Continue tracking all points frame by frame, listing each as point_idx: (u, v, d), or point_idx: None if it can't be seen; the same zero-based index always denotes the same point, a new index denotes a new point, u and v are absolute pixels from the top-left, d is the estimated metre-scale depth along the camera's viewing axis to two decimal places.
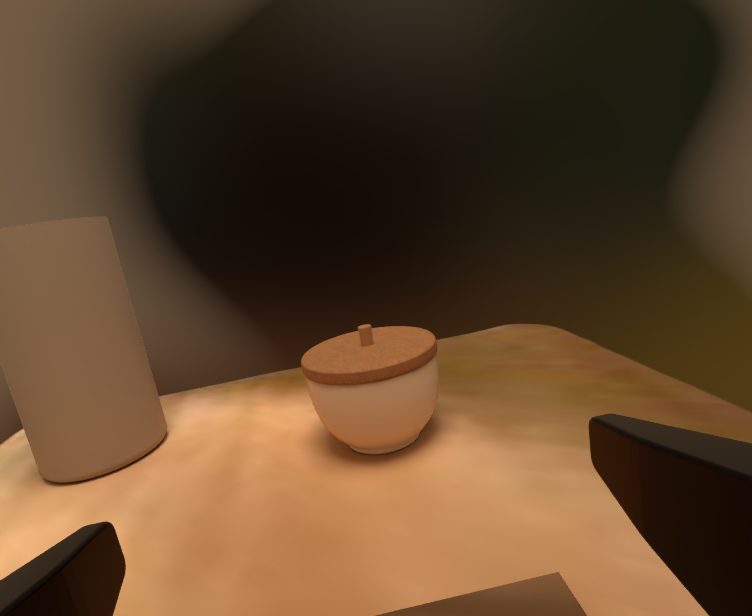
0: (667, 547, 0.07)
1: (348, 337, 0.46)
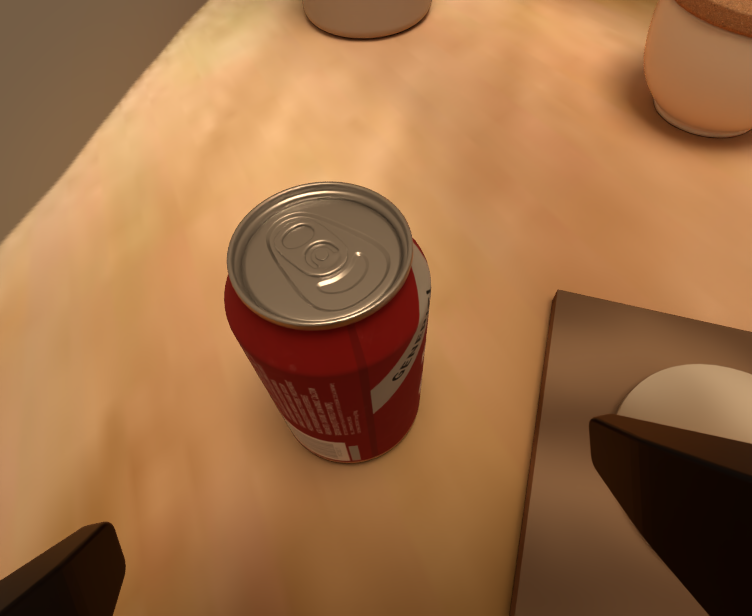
0: (667, 547, 0.07)
1: None
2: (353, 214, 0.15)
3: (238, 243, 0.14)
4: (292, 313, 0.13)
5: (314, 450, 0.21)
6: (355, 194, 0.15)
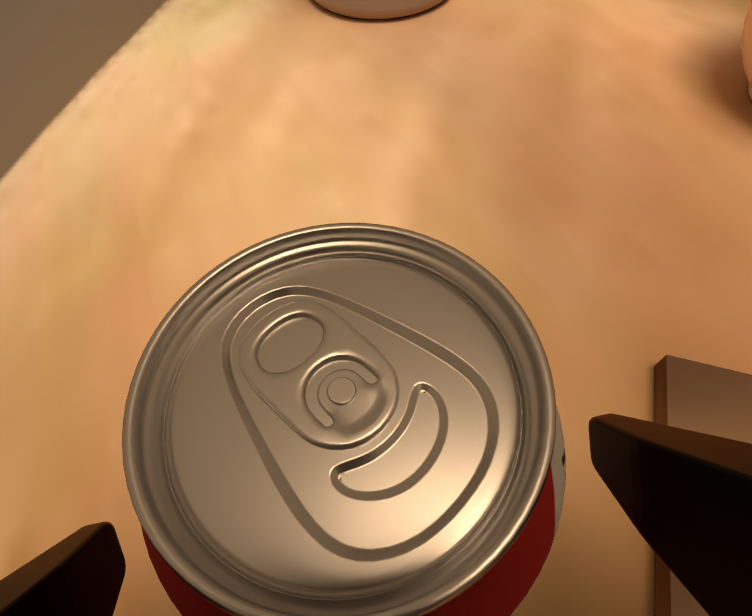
0: (667, 547, 0.07)
1: None
2: (404, 292, 0.07)
3: (160, 361, 0.07)
4: (272, 564, 0.05)
5: None
6: (406, 249, 0.08)
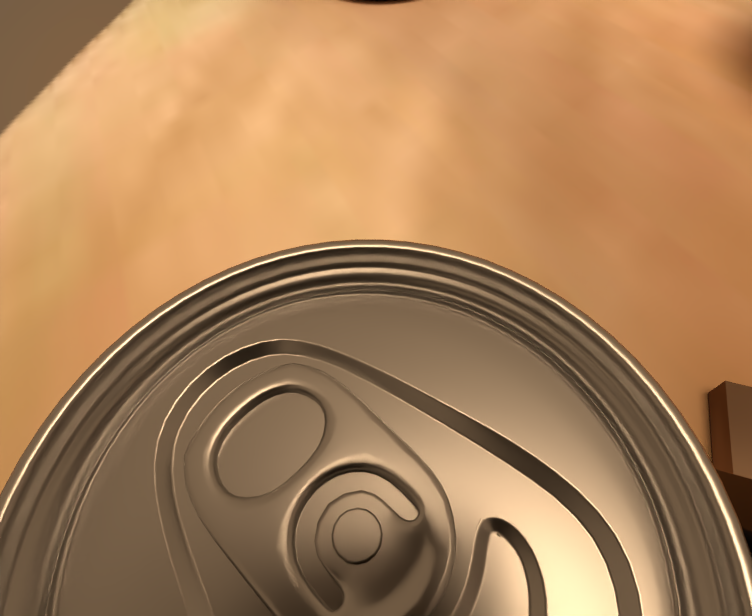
0: None
1: None
2: (454, 353, 0.05)
3: (53, 475, 0.04)
4: None
5: None
6: (453, 279, 0.05)
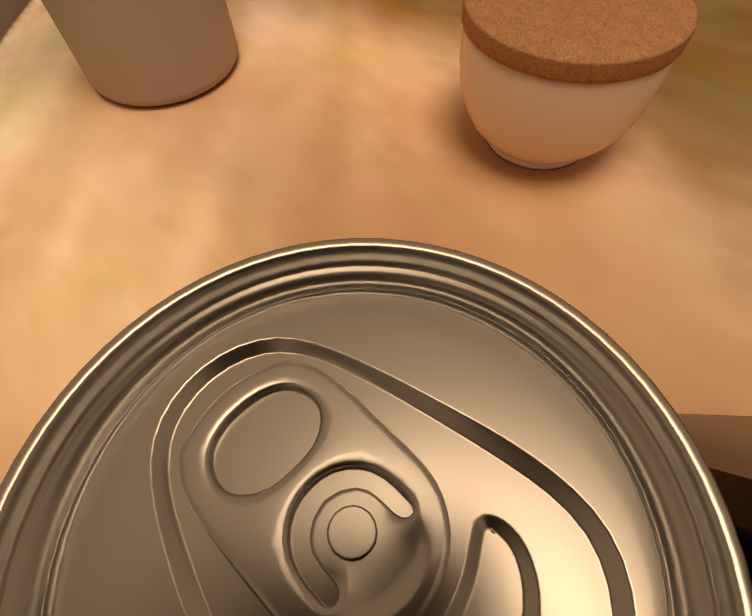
0: None
1: None
2: (450, 350, 0.05)
3: (49, 472, 0.04)
4: None
5: None
6: (449, 278, 0.05)
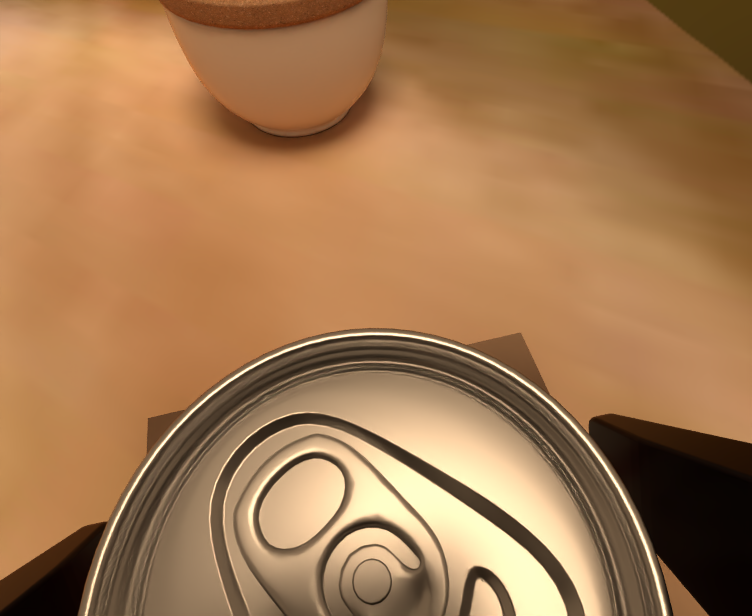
0: (667, 547, 0.07)
1: None
2: (449, 426, 0.06)
3: (129, 530, 0.05)
4: None
5: None
6: (449, 360, 0.06)
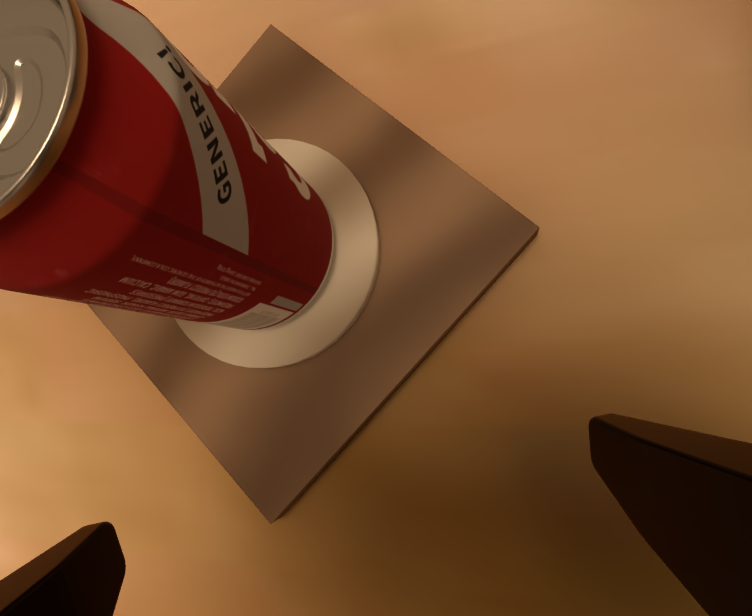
0: (667, 547, 0.07)
1: None
2: None
3: None
4: None
5: (251, 327, 0.18)
6: None
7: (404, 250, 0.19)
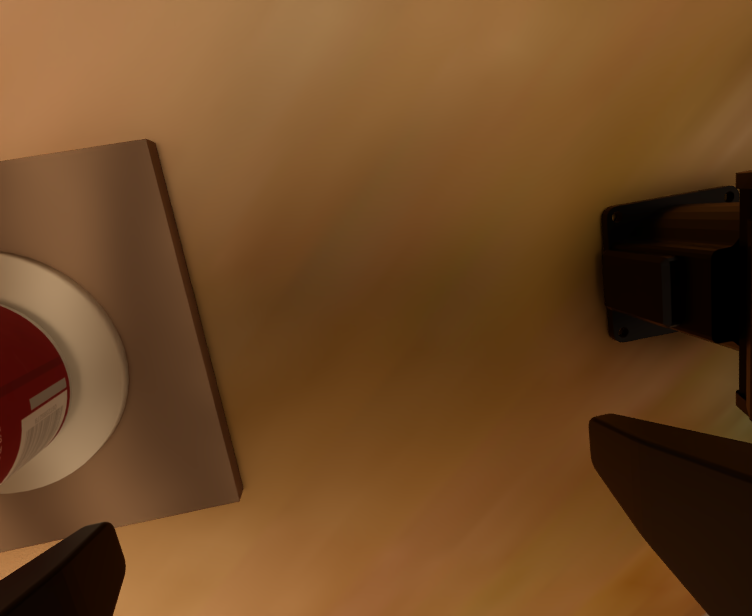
0: (667, 547, 0.07)
1: None
2: None
3: None
4: None
5: (52, 434, 0.17)
6: None
7: (84, 257, 0.19)
